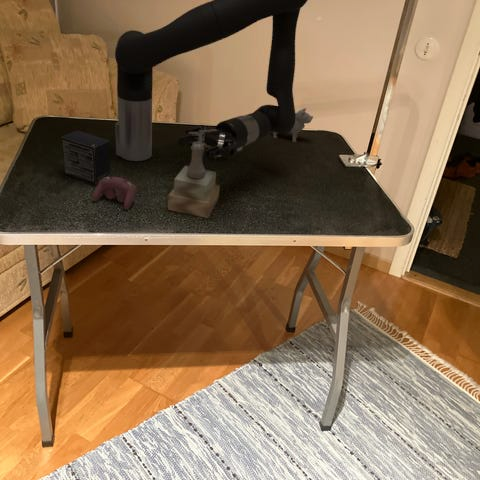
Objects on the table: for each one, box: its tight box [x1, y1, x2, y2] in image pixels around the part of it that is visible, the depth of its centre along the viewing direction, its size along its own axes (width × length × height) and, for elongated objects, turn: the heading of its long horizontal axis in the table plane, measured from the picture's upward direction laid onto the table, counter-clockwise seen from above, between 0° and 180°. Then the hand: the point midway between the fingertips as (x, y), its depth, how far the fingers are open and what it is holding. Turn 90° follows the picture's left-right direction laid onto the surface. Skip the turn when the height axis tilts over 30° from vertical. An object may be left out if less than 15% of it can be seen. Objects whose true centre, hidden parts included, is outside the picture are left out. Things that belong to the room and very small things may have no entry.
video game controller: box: [92, 176, 138, 211], centre depth 119 cm, size 10×5×7 cm, turn 72°
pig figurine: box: [272, 107, 314, 143], centre depth 163 cm, size 5×13×11 cm, turn 75°
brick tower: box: [167, 165, 221, 219], centre depth 121 cm, size 10×10×8 cm
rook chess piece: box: [187, 142, 206, 179], centre depth 117 cm, size 4×4×8 cm
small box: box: [60, 130, 112, 186], centre depth 127 cm, size 11×6×10 cm, turn 65°
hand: (191, 148), depth 113 cm, fingers open, 8 cm apart
